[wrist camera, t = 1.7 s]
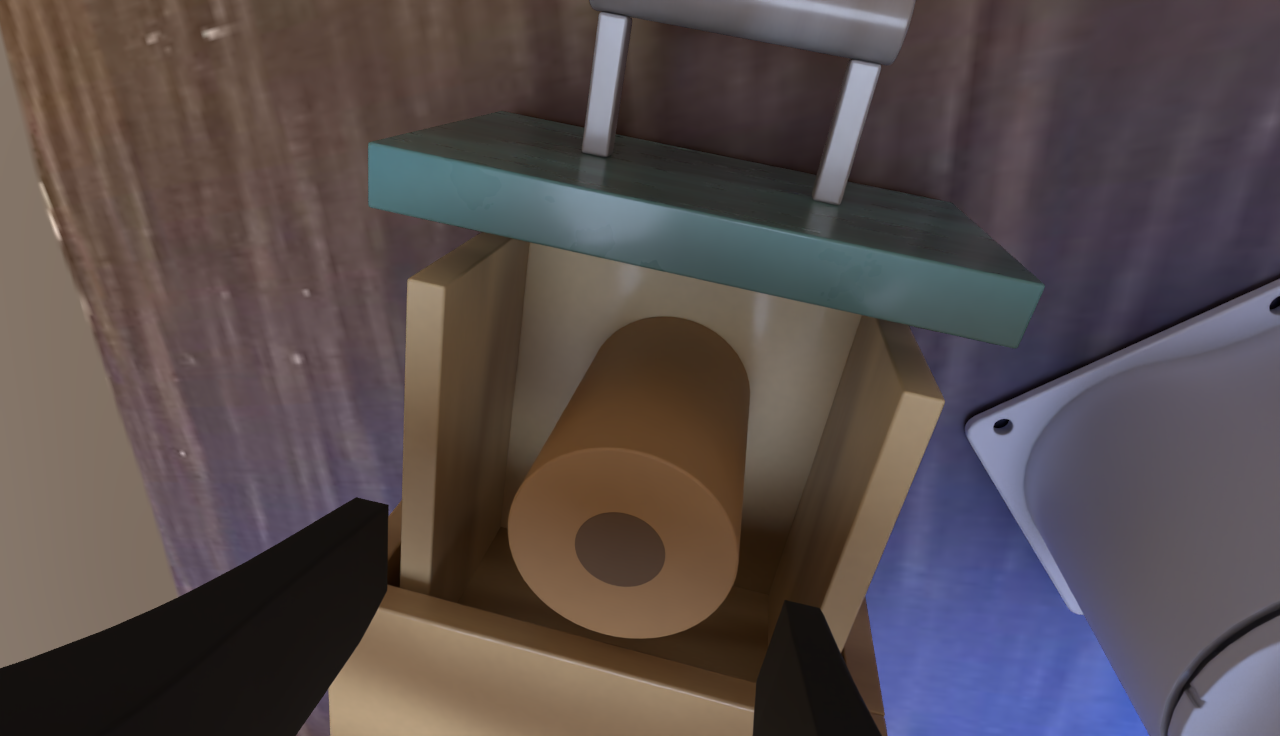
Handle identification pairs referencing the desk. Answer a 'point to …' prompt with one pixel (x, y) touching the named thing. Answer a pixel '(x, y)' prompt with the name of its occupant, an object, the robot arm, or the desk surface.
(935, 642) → the desk surface
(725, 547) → the paper roll
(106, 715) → the robot arm
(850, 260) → the drawer
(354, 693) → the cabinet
